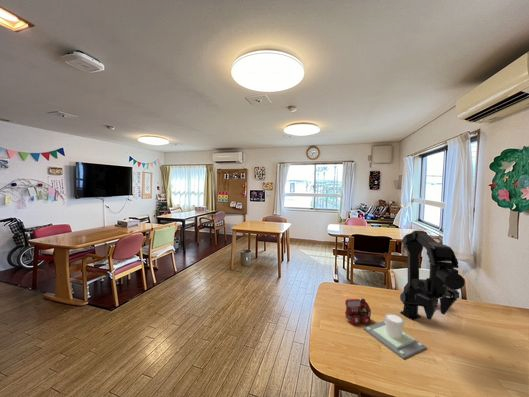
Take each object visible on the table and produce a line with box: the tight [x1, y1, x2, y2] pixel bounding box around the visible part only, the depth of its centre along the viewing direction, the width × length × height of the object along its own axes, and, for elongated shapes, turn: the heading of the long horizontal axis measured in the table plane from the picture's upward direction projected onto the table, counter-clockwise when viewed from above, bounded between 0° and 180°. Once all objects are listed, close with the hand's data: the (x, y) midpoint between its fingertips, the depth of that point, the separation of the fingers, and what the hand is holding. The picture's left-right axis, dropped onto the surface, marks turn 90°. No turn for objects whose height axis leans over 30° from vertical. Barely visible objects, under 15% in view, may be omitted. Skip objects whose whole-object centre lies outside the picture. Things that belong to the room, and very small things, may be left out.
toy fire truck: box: [344, 298, 372, 326], centre depth 104 cm, size 7×12×10 cm, turn 96°
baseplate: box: [363, 320, 427, 360], centre depth 92 cm, size 14×18×2 cm
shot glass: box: [384, 313, 405, 339], centre depth 92 cm, size 7×7×7 cm
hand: (435, 316), depth 86 cm, fingers open, 9 cm apart
